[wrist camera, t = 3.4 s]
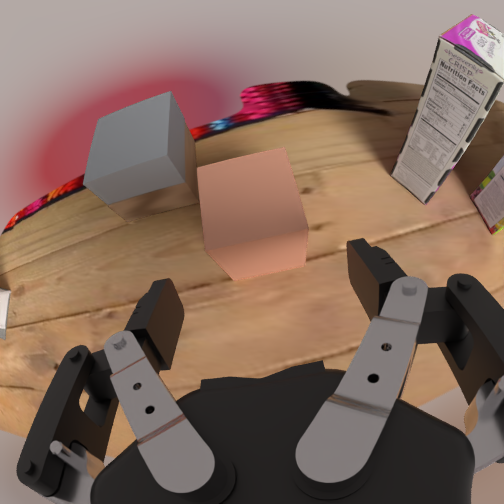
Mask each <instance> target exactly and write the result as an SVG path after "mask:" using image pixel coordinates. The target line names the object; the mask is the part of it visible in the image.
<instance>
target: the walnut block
mask: <svg viewBox="0 0 504 504" xmlns="http://www.w3.org/2000/svg"><path fill="white" fill-rule="evenodd" d="M196 203H199V192H198V180H197V167H196V152H195V141H194V139H193V137H192V135H191V133H190V131H189V129H188V127H187V125H186V123H185V183H181V184H177V185H173V186H170V187H166V188H162V189H159V190H155V191H152V192H148V193H145V194H141V195H138V196H134V197H131V198H128V199H124V200H121V201H118V202H115V203H112V204H109V205H108V207H109V208H111V209H112V210H113V211H114V212H116V213H117V214H118V215H119V216H121V217H122V218H123V219H124V220H126V221H127V222H129V221H133V220H136V219H140V218H143V217H147V216H151V215H154V214H158V213H162V212H165V211H169V210H173V209H177V208H181V207H184V206H188V205H192V204H196Z"/></svg>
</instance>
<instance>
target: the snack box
mask: <svg viewBox="0 0 504 504" xmlns="http://www.w3.org/2000/svg"><path fill="white" fill-rule="evenodd" d="M470 198H471V199H472V201H473V202H474V204H475V205H476V207H477V209H478V210H479V212H480V214H481V216H482V217H483V219H484V221H485V223H486V224H487V226H488V228H489V230H490V232H491V234H492V235H494V234H496V233H497V232H499V231H500V230H502V229H503V228H504V156H503V157H502V158H501V160H500V161H499V162H498V163H497V165H496V166H495V167H494V168H493V169H492V171H491V172H490V173H489V174H488V176H487V177H486V178H485V179H484V180H483V182H482V183H481V184H480V185H479V186H478V187H477V188H476V189H475V191H474V192H473V193H472V194H470Z"/></svg>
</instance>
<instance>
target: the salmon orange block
mask: <svg viewBox="0 0 504 504" xmlns="http://www.w3.org/2000/svg"><path fill="white" fill-rule="evenodd" d="M197 177H198V188H199V198H200V208H201V218H202V227H203V236H204V244H205V251H206V252H207V253H208V254H209V255H210V257H211V258H212V259H213V260H214V261H215V262H216V263H217V264H218V265H219V266H220V267H221V268H222V269H223V270H224V271H225V272H226V273H227V274H228V275H229V276H230V277H231V278H232V279H233V280H234V281H236V280H241V279H246V278H251V277H256V276H260V275H265V274H270V273H275V272H280V271H284V270H289V269H294V268H298V267H303V266H305V262H306V252H307V242H308V231H309V228H308V224H307V220H306V217H305V213H304V210H303V206H302V202H301V199H300V195H299V192H298V188H297V185H296V182H295V178H294V175H293V172H292V168H291V165H290V162H289V159H288V155H287V152H286V149H285V147H283V148H278V149H273V150H268V151H263V152H259V153H254V154H250V155H245V156H241V157H237V158H232V159H228V160H224V161H220V162H216V163H213V164H209V165H205V166H201V167H198V168H197Z"/></svg>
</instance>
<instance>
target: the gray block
mask: <svg viewBox="0 0 504 504" xmlns="http://www.w3.org/2000/svg"><path fill="white" fill-rule="evenodd" d="M181 183H185V119H184V117H183V114H182V113H181V110H180V108H179V106H178V104H177V103H176V100H175V98H174V96H173V94H172V92H171V91H170V92H166V93H164V94H160V95H158V96H155V97H152V98H149V99H146V100H144V101H141V102H138V103H135V104H133V105H130V106H128V107H125V108H123V109H121V110H118V111H116V112H113V113H111V114H109V115H106V116H104V117H102V118H100V119H98V122H97V126H96V129H95V133H94V137H93V141H92V145H91V149H90V153H89V157H88V162H87V167H86V171H85V176H84V182H83V185H85V186H86V187H87V188H88V189H89V190H91V191H92V192H93V193H94V194H95V195H96V196H98V197H99V198H100V199H101V200H102V201H104V202H105V203H106V204H107V205H109V204H112V203H115V202H118V201H121V200H124V199H128V198H131V197H134V196H138V195H141V194H145V193H148V192H152V191H155V190H159V189H162V188H166V187H170V186H173V185H177V184H181Z"/></svg>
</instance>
